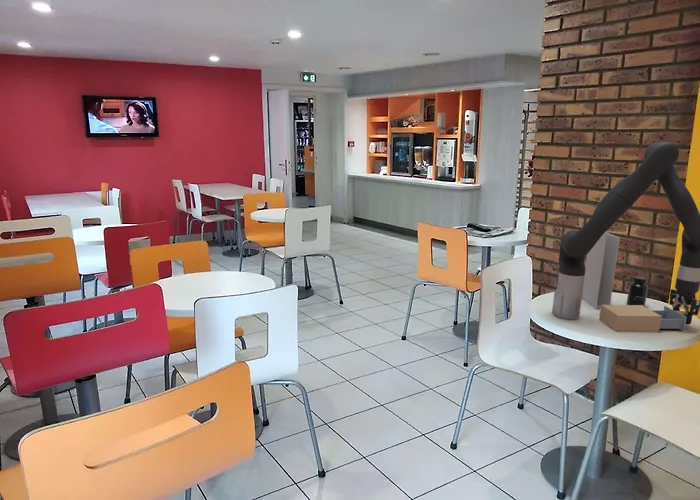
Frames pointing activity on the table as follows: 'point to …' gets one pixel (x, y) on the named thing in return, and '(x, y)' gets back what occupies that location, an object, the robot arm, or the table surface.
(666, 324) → the tray
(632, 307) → the sleeve
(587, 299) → the grey standing panel
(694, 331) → the table surface
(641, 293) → the supplement bottle
